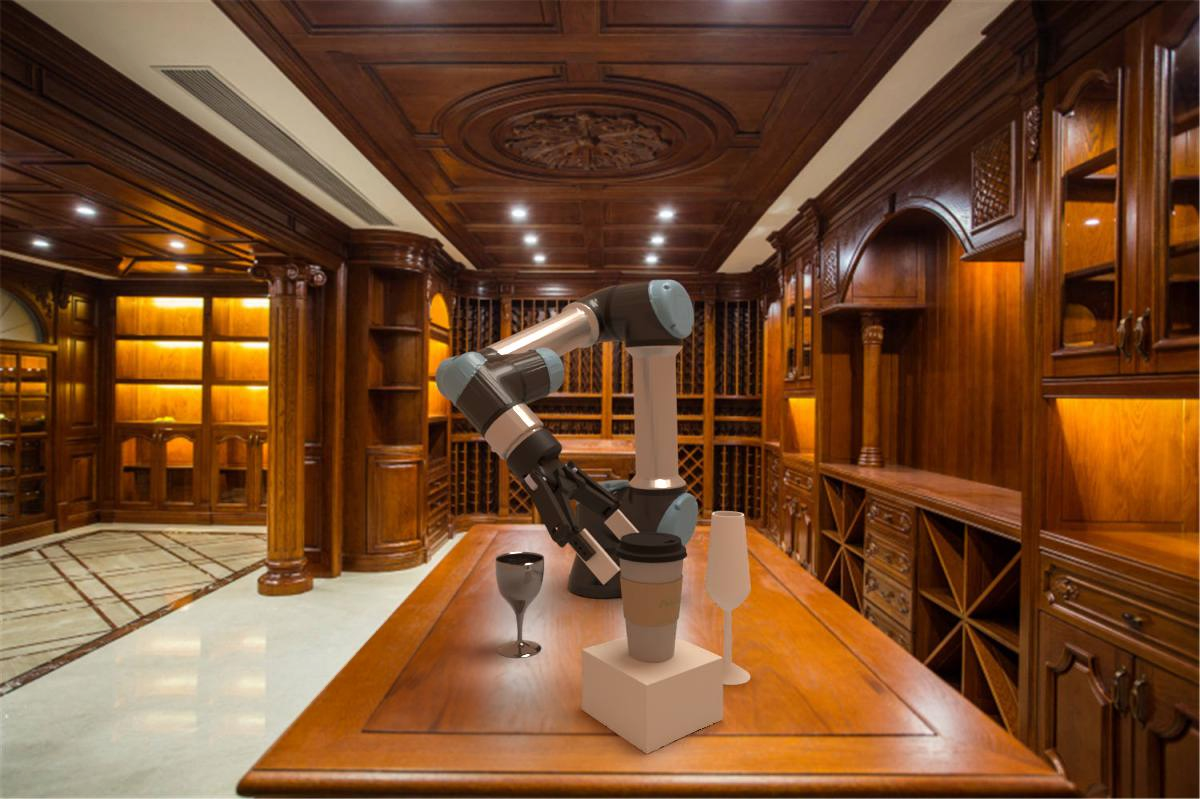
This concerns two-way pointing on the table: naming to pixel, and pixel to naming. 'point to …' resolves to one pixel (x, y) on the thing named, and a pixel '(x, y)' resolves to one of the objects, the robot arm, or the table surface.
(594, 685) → the riser
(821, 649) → the table surface
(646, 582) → the coffee cup
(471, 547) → the table surface
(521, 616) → the wine glass
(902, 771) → the table surface
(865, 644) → the table surface
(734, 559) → the champagne flute
